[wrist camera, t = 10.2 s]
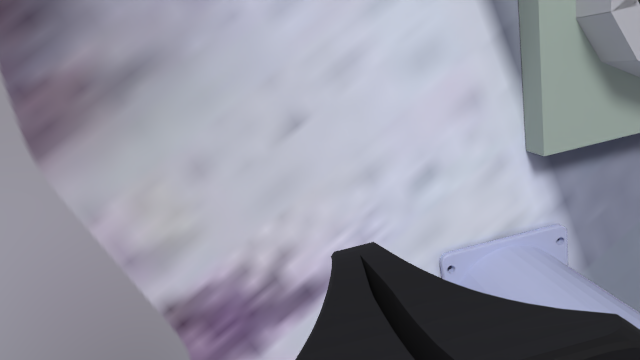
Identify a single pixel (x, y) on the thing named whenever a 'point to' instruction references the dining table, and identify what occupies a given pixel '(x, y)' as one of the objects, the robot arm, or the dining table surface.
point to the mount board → (579, 72)
